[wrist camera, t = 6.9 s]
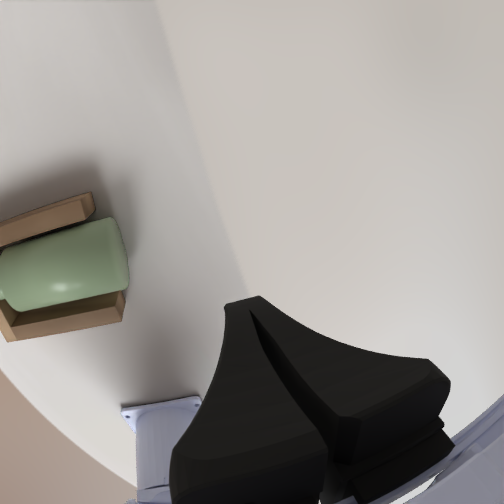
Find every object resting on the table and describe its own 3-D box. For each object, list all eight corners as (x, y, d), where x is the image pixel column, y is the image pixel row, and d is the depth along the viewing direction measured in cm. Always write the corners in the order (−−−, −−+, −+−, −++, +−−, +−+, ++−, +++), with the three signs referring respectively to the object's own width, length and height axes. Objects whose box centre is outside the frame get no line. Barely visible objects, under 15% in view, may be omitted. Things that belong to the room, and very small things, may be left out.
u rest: (125, 302, 20) (121, 321, 18) (17, 324, 19) (7, 342, 16) (91, 191, 17) (80, 199, 15) (-22, 231, 15) (-38, 242, 13)
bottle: (122, 301, 16) (-9, 327, 14) (132, 274, 20) (16, 301, 18) (99, 223, 14) (-33, 265, 12) (116, 212, 18) (-2, 247, 16)
